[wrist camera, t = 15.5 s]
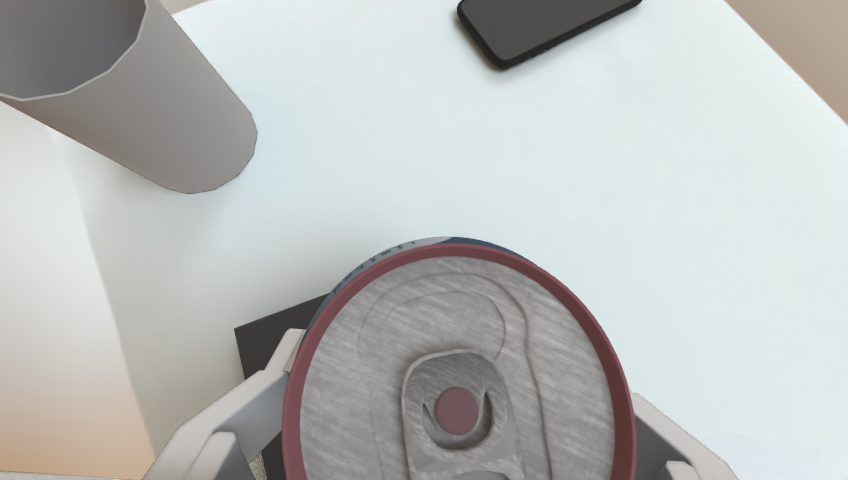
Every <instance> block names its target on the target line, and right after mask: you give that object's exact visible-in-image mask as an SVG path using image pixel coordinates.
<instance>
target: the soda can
mask: <svg viewBox="0 0 848 480" xmlns="http://www.w3.org/2000/svg"><path fill="white" fill-rule="evenodd" d="M281 431H282V451H283V462H284V468H285V474H286V479H287V480H634V476H635V467H636V448H637V440H636V425H635V417H634V410H633V405H632V400H631V395H630V391H629V388H628V384H627V381H626V378H625V375H624V372H623V369H622V366H621V364H620V362H619V359H618V357H617V355H616V353H615V351H614V349H613V347H612V345H611V343H610V341H609V339H608V337H607V336H606V334H605V332H604V331H603V329H602V327H601V326H600V325H599V323H598V322H597V320H596V319H595V317H594V316H593V315H592V314H591V312H590V311H589V310H588V309H587V307H586V306H585V305H584V304H583V303H582V302H581V301H580V300H579V298H578V297H577V296H576V295H575V294H574V293H573V292H571V291H570V290H569V289H568V288H567V287H566V286H565V285H564V284H562V283H561V282H560V281H559V280H558V279H556V278H555V277H554V276H552V275H551V274H549V273H548V272H546V271H545V270H543V269H542V268H540V267H538V266H537V265H536V264H534V263H533V262H531V261H529V260H528V259H526V258H524V257H523V256H521V255H519V254H517V253H515V252H513V251H511V250H508V249H506V248H504V247H501V246H498V245H495V244H492V243H489V242H485V241H481V240H476V239H470V238H462V237H433V238H425V239H420V240H415V241H411V242H407V243H404V244H400V245H398V246H395V247H392V248H390V249H388V250H385V251H383V252H381V253H379V254H377V255H376V256H374V257H372V258H370V259H369V260H367V261H366V262H364V263H363V264H361V265H360V266H358V267H357V268H356V269H354V270H353V271H352V272H351V273H349V274H348V275H347V276H346V277H345V278H344V279H343V280H342V281H341V282H340V283H339V284H338V285H337V286H336V287H335V288H334V289H333V290H332V291H331V293H330V294H329V295H328V296H327V297H326V299H325V300H324V302H323V303H322V304H321V306H320V307H319V308H318V310H317V312H316V313H315V315H314V317H313V318H312V320H311V322H310V324H309V326H308V327H307V329H306V331H305V334H304V336H303V338H302V340H301V343H300V345H299V348H298V351H297V354H296V357H295V360H294V363H293V366H292V369H291V372H290V375H289V379H288V382H287V386H286V391H285V397H284V403H283V412H282V430H281Z"/></svg>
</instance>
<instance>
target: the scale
mask: <svg viewBox="0 0 848 480" xmlns="http://www.w3.org/2000/svg"><path fill="white" fill-rule="evenodd" d="M329 294H330V293H328V294H325V295H323V296H320V297H317V298H315V299H312V300H309V301H307V302H304V303H301V304H299V305H296V306H293V307H291V308H288V309H285V310H283V311H280V312H277V313H275V314H272V315H269V316H267V317H264V318H261V319H259V320H256V321H253V322H251V323H248V324H245V325H243V326H240V327H237V328H235V329H234V331H235V336H236V340H237V345H238V349H239V354H240V358H241V363H242V367H243V372H244V376H245V380H246V379H248V378H249V377H251V376H252V375H254V374H255V373H256V372H258V371H259V370H265V368H266V366H267V365H268V363H269V361H270V359H271V357H272V356H273V354H274V352H275V350H276V348H277V347H278V345H279V343H280V341H281V340H282V338H283V336H284V334H285V332H286V331H287V330H289V329H290V328H292V329H304V330H305V329H307V327H308V326H309V324H310V322H311V320H312V318H313V317H314V315H315V313H316V312H317V310H318V308H319V307H320V306H321V304H322V303H323V302H324V300H325V299H326V297H327V296H328V295H329ZM261 453H262V457H263V462H264V467H265V471H266V476H267V480H287V479H286V474H285V468H284V462H283V451H282V431H280V432H279V433H278V434H277V435H276V436H275V437H274V438H273V439H272V441H271V442H270V443H269V444H268V445H267V446H266V447H265V448H264V449H263V450H262V451H261Z"/></svg>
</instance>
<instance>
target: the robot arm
mask: <svg viewBox="0 0 848 480" xmlns="http://www.w3.org/2000/svg"><path fill="white" fill-rule="evenodd" d="M305 331H306V329H305V330H304V329H292V328H290V329H289V330H287V331H286V332H285V334H284V336H283V338H282V340H281V341H280V343H279V345H278V347H277V348H276V350H275V352H274V354H273V356H272V357H271V359H270V361H269V363H268V365H267V366H266V368H265V370H259V371H258V372H256V373H255V374H254V375H252V376H251V377H249V378H248V379H246V380H245V381H244V382H242V383H241V384H239V385H238V386H236V387H235V388H234V389H232V390H231V391H229V392H228V393H226V394H225V395H224V396H222V397H221V398H219V399H218V400H217V401H215V402H214V403H212V404H211V405H209V406H208V407H207V408H205V409H204V410H202V411H201V412H199V413H198V414H197V415H195V416H194V417H192V418H191V419H189V420H188V421H187V422H185V423H184V424H182V425H181V426H180V427H178V429H177V430H176V432H175V433H174V434H173V436H172V437H171V439H170V440H169V442H168V443H167V444H166V446H165V447H164V449H163V450H162V451H161V453H160V454H159V456H158V457H157V459H156V460H155V461H154V463H153V464H152V466H151V467H150V469H149V470H148V471H147V473H146V475H145V476H144V477H143V479H142V480H255V478H254V475H253V473H252V471H251V469H250V467H249V465H248V464H249V463H250V462H251V461H252V460H253V459H254V458H255V457H256V456H257V455H258V454H259V453H260V452H261V451H262V450H263V449H264V448H265V447H266V446H267V445H268V444H269V443H270V442H271V441H272V439H273V438H274V437H275V436H276V435H277V434H278V433H279V432H280V431H281V430H282V412H283V403H284V397H285V391H286V386H287V382H288V379H289V375H290V372H291V369H292V366H293V363H294V360H295V357H296V354H297V351H298V348H299V345H300V343H301V340H302V338H303V336H304V334H305ZM628 388H629V386H628ZM629 391H630V395H631V400H632V405H633V410H634V417H635V425H636V440H637V448H636V467H635V476H634V480H738V478H737V477H736V475H735V474H734V472H733V471H732V469H731V468H730V467H729V465H728V464H727V463H726V462H725V461H724V460H722V459H721V458H720V457H719V456H717V455H716V454H715V453H713V452H712V451H711V450H710V449H708V448H707V447H706V446H704V445H703V444H702V443H701V442H699V441H698V440H697V439H695V438H694V437H693V436H692V435H690V434H689V433H688V432H686V431H685V430H684V429H683V428H681V427H680V426H679V425H677V424H676V423H675V422H674V421H672V420H671V419H670V418H669V417H667V416H666V415H665V414H663V413H662V412H661V411H660V410H658V409H657V408H656V407H654V406H653V405H652V404H651V403H649V402H648V401H647V400H645V399H644V398H643V397H642V396H640V395H639V394H638V393H632V392H631V390H630V388H629ZM0 480H128V479H114V478H100V477H84V476H71V475H56V474H42V473H28V472H12V471H0Z"/></svg>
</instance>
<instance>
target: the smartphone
mask: <svg viewBox="0 0 848 480" xmlns="http://www.w3.org/2000/svg"><path fill="white" fill-rule="evenodd" d="M641 1H642V0H461V2H460V3H459V4H458V6H457V14H458V17H459V19H460V20H461V22H462V23H463V24H464V26H465V27H466V28H467V30H468V31H469V32H470V34H471V35H472V36H473V38H474V39H475V40H476V42H477V43H478V44H479V46H480V47H481V48H482V50H483V51H484V52H485V54H486V55H487V56H488V58H489V59H490V60H491V62H492V63H493V64H495V65H496V66H497V67H500V68H509V67H511V66H513V65H515V64H518V63H520V62H523V61H525V60H527V59H528V58H530V57H533V56H536V55H538V54H540V53H542V52H543V51H544V50H548V49H550V48H552V47H554V46H556V45H557V44H559V43H561V42H563V41H565V40H567V39H569V38H571V37H573V36H575V35H577V34H579V33H581V32H583V31H585V30H587V29H589V28H591V27H593V26H595V25H597V24H599V23H601V22H603V21H606V20H608V19H610V18H612V17H614V16H616V15H618V14H620V13H622V12H624V11H626V10H628V9H630V8H632V7H634V6H636V5H638V4H639V3H640V2H641Z"/></svg>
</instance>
